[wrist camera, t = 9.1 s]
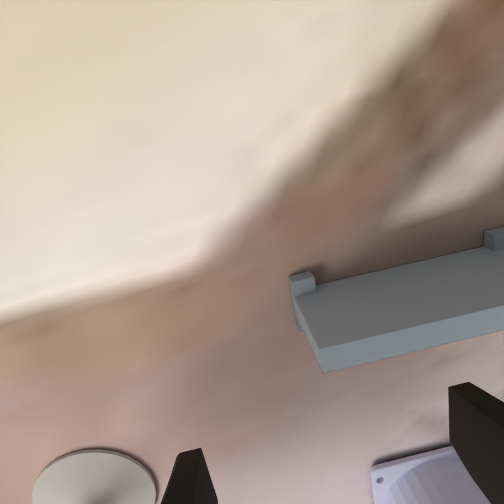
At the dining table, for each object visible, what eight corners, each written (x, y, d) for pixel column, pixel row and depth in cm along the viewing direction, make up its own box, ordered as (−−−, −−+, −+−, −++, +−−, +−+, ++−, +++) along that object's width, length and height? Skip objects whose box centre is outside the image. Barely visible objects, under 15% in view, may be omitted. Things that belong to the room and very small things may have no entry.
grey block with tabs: (503, 276, 22) (593, 325, 17) (297, 324, 22) (325, 390, 17) (505, 226, 21) (601, 263, 16) (288, 275, 21) (316, 330, 16)
